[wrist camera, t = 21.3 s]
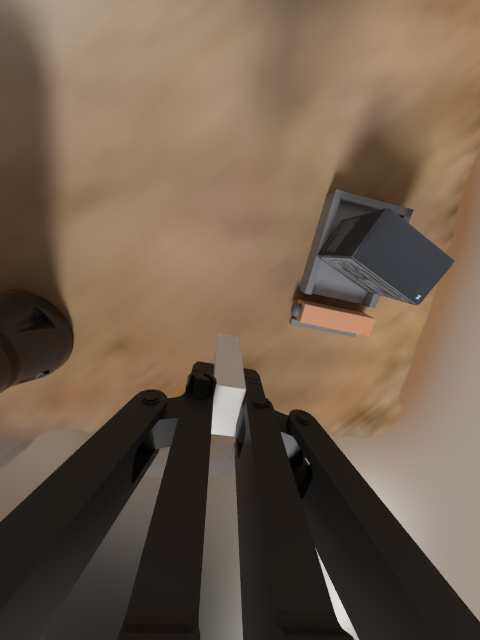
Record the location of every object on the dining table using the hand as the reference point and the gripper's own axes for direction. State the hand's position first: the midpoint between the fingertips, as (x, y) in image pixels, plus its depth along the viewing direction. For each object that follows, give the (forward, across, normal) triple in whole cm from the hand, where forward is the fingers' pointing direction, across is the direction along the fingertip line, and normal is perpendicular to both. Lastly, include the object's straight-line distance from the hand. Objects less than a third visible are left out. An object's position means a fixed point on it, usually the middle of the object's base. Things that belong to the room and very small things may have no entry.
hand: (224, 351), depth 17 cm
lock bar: (+23, +18, 0) cm, 29 cm away
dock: (+23, +18, +8) cm, 30 cm away
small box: (+20, +18, +10) cm, 29 cm away
